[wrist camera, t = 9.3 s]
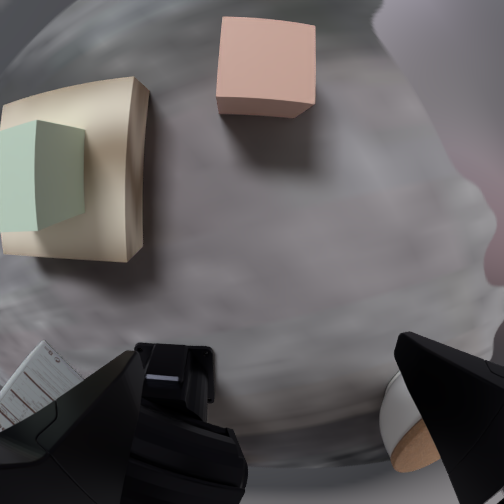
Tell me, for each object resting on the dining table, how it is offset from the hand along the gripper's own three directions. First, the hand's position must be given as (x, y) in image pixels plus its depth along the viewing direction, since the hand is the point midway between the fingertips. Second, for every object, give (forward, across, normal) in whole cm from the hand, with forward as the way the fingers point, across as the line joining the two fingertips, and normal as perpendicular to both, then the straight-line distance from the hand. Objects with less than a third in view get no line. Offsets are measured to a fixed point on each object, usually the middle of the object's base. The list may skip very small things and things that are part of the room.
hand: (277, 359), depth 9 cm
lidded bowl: (+12, -18, +16) cm, 27 cm away
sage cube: (+8, +12, -6) cm, 16 cm away
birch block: (+12, +13, -6) cm, 19 cm away
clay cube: (+12, -1, -12) cm, 17 cm away
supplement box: (+12, +21, +13) cm, 27 cm away
